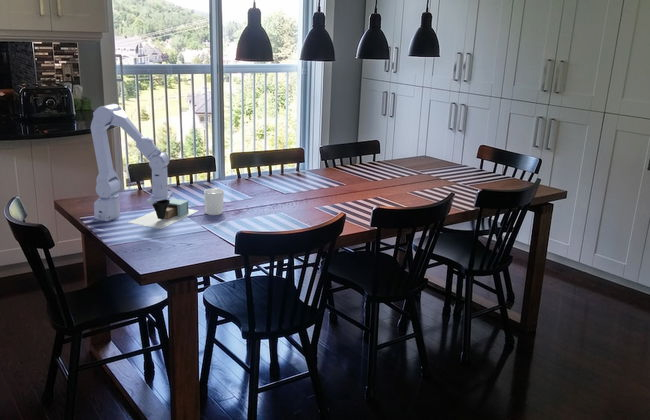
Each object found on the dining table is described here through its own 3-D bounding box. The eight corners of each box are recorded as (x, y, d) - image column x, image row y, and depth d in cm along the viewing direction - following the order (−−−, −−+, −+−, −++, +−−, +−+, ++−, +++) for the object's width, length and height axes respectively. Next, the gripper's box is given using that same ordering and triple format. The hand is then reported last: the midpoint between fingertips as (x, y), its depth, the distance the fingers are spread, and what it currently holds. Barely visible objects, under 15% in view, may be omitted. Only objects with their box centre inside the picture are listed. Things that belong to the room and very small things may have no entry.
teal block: (180, 216, 239) (179, 204, 238) (165, 214, 242) (164, 202, 240) (188, 212, 245) (188, 200, 243) (173, 210, 247) (173, 198, 245)
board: (161, 230, 225) (161, 228, 225) (127, 224, 230) (127, 222, 229) (198, 212, 248) (198, 210, 248) (167, 207, 253) (167, 205, 253)
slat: (168, 219, 235) (167, 211, 234) (161, 218, 236) (161, 209, 235) (182, 212, 244) (182, 204, 243) (176, 211, 245) (175, 203, 244)
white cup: (214, 210, 252) (214, 187, 250) (227, 214, 248) (227, 191, 245) (200, 214, 247) (199, 190, 244) (212, 218, 242) (212, 194, 239)
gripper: (157, 190, 221) (158, 225, 225) (179, 181, 234) (180, 215, 238) (141, 187, 224) (142, 222, 228) (164, 179, 237) (165, 212, 241)
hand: (160, 218), depth 233 cm, fingers closed
